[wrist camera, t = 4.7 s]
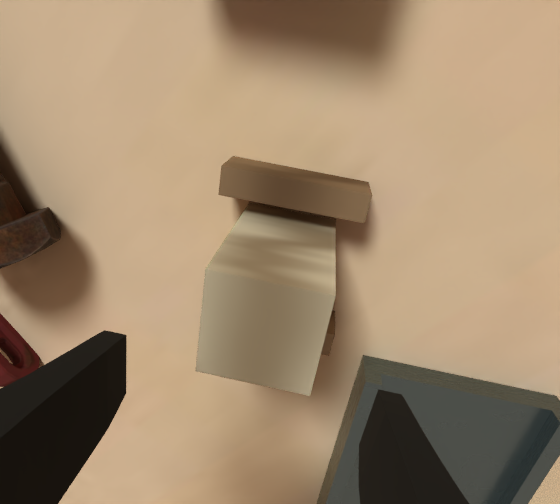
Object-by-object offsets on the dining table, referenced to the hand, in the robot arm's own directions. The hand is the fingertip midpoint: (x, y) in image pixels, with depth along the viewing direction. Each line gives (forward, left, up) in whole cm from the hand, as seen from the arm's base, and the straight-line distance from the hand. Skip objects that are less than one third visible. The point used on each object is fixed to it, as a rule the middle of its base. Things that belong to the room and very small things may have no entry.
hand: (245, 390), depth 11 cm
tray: (-10, +15, -9) cm, 20 cm away
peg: (0, 0, -10) cm, 10 cm away
